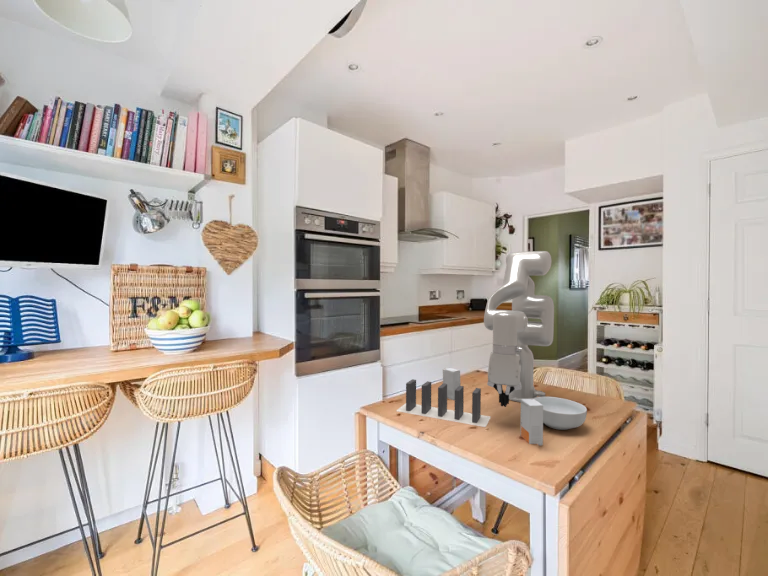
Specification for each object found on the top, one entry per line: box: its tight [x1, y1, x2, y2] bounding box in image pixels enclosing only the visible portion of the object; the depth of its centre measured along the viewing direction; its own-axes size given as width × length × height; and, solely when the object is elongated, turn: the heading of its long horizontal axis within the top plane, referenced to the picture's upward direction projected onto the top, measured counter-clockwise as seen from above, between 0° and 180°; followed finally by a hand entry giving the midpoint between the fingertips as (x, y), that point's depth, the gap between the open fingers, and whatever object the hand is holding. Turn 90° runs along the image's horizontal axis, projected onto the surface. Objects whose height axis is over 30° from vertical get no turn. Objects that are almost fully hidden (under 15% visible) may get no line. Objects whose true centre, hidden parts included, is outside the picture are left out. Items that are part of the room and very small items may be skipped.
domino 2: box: [421, 380, 432, 414], centre depth 131 cm, size 2×6×10 cm, turn 154°
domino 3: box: [437, 382, 448, 417], centre depth 128 cm, size 2×6×10 cm, turn 154°
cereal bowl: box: [534, 396, 588, 431], centre depth 120 cm, size 17×17×7 cm
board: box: [395, 402, 492, 428], centre depth 128 cm, size 32×10×1 cm, turn 64°
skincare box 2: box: [520, 399, 544, 446], centre depth 108 cm, size 6×4×12 cm
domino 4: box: [454, 385, 465, 420], centre depth 125 cm, size 2×6×10 cm, turn 154°
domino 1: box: [405, 379, 417, 411], centre depth 133 cm, size 2×6×10 cm, turn 154°
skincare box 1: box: [442, 367, 461, 401], centre depth 146 cm, size 6×4×12 cm
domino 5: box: [471, 387, 482, 423], centre depth 123 cm, size 2×6×10 cm, turn 154°
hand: (503, 405), depth 119 cm, fingers closed
